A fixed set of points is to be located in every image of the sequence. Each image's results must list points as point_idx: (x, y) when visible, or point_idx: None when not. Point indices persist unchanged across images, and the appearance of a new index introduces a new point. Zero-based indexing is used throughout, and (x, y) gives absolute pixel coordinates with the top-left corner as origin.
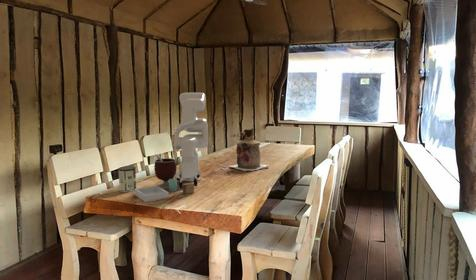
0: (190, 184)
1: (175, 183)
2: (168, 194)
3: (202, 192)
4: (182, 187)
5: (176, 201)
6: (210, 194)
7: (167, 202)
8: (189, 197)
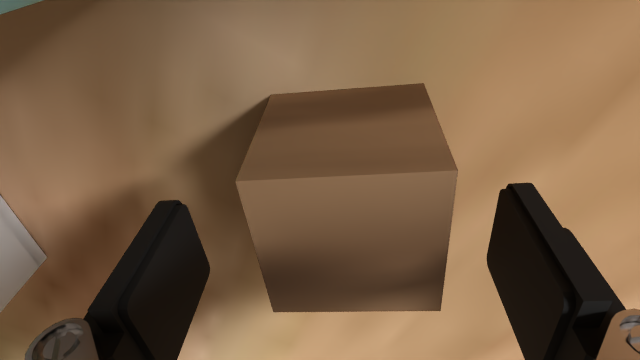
0: (384, 282)
1: (25, 4)
2: (15, 294)
3: None
4: (204, 283)
5: None
6: None
7: None
8: (278, 323)
